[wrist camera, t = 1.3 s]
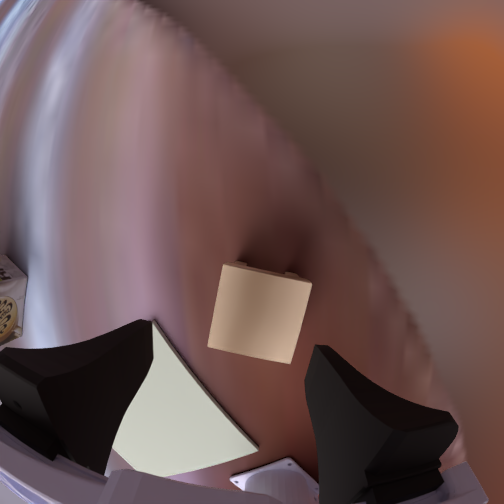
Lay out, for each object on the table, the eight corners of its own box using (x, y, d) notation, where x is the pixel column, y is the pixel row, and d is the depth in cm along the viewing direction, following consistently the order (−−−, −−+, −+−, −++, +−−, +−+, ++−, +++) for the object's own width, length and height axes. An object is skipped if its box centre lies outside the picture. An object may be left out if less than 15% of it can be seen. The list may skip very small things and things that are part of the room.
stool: (300, 271, 22) (312, 283, 16) (284, 334, 22) (290, 363, 16) (233, 256, 22) (223, 264, 16) (220, 320, 22) (207, 346, 17)
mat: (258, 447, 23) (258, 450, 22) (148, 476, 24) (146, 479, 24) (154, 319, 22) (151, 321, 22) (60, 378, 24) (57, 380, 23)
